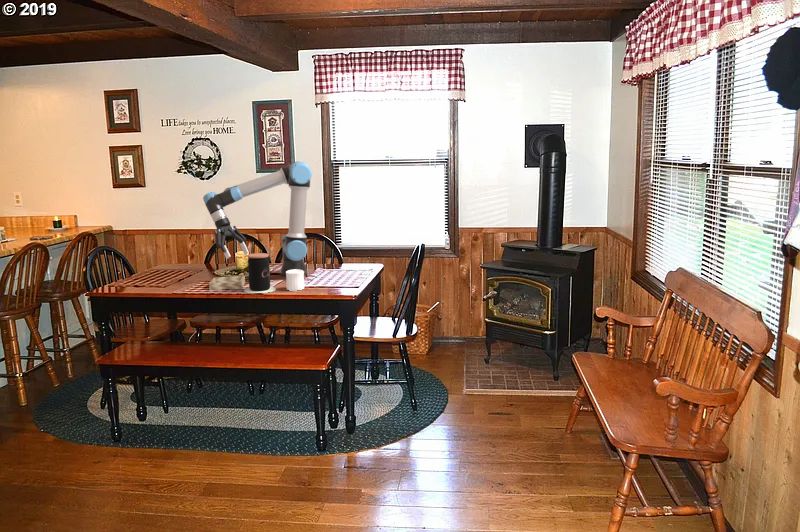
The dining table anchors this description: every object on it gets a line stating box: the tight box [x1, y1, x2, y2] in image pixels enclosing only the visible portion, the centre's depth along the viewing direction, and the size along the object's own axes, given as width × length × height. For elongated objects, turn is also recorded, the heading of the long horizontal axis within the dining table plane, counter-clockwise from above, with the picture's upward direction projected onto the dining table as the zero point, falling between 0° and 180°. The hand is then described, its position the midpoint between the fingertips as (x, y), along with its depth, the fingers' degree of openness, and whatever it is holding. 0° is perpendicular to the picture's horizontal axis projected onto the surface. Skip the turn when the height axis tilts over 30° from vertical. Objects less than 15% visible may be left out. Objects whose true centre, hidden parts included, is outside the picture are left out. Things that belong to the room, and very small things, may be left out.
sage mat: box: [243, 286, 277, 294], centre depth 338 cm, size 16×16×1 cm
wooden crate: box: [208, 276, 246, 291], centre depth 349 cm, size 16×16×4 cm
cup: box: [285, 269, 305, 292], centre depth 338 cm, size 10×10×10 cm
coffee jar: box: [247, 252, 271, 291], centre depth 336 cm, size 11×11×18 cm
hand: (237, 255), depth 347 cm, fingers open, 13 cm apart
